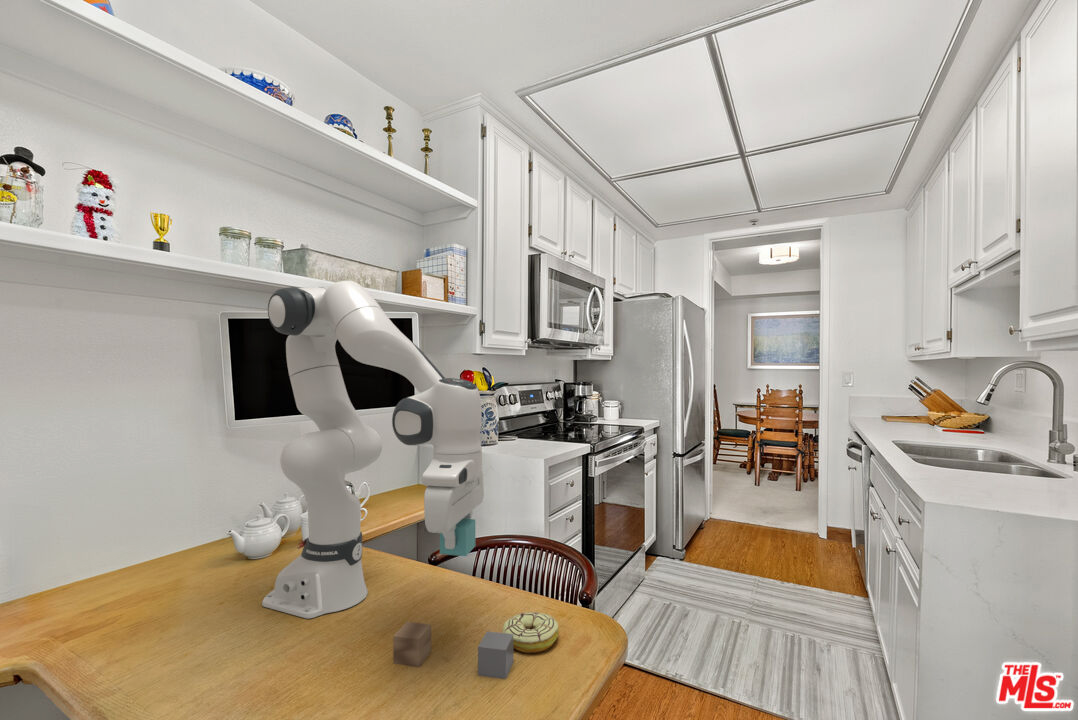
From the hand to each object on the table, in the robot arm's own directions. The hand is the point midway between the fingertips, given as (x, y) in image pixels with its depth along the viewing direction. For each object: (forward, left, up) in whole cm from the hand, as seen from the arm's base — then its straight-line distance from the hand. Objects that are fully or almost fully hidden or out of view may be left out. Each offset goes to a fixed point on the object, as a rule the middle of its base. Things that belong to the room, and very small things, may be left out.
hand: (457, 541), depth 89 cm
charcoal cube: (+8, -2, -21) cm, 23 cm away
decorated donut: (+12, +8, -22) cm, 26 cm away
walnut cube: (-8, -2, -21) cm, 23 cm away
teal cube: (0, 0, -2) cm, 2 cm away
